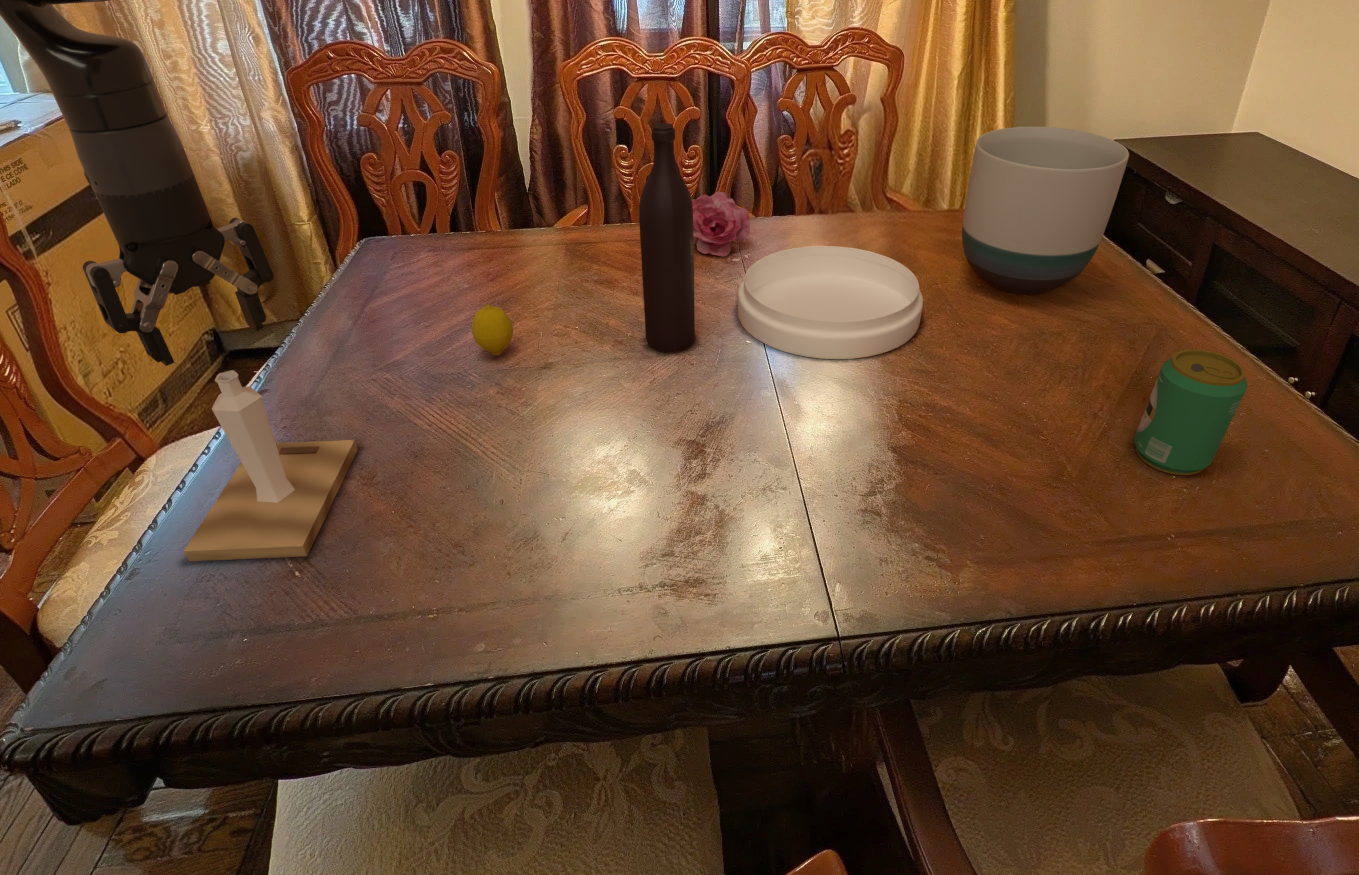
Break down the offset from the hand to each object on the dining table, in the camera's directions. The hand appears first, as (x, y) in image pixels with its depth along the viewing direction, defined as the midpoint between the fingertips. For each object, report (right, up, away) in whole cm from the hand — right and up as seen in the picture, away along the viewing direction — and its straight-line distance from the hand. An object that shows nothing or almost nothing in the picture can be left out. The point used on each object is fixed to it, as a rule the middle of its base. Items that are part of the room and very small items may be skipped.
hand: (213, 344), depth 77 cm
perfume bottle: (+1, -15, +11) cm, 19 cm away
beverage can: (+101, -11, +14) cm, 103 cm away
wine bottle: (+44, +5, +38) cm, 58 cm away
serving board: (+1, -16, +12) cm, 20 cm away
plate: (+67, +10, +44) cm, 81 cm away
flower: (+51, +25, +65) cm, 86 cm away
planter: (+98, +15, +50) cm, 112 cm away
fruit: (+19, +3, +37) cm, 41 cm away
